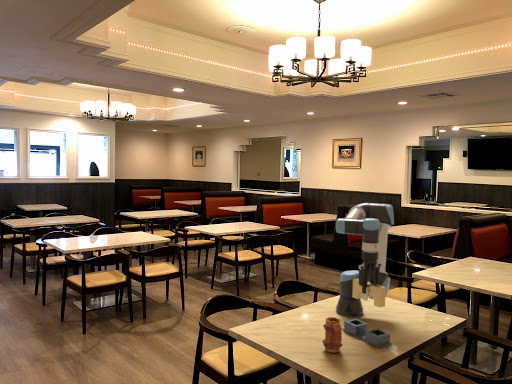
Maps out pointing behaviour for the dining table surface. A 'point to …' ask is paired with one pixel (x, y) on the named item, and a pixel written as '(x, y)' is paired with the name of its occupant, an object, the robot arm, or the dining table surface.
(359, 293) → the tan wooden block
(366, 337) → the grey double socket base
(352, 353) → the dining table surface
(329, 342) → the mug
